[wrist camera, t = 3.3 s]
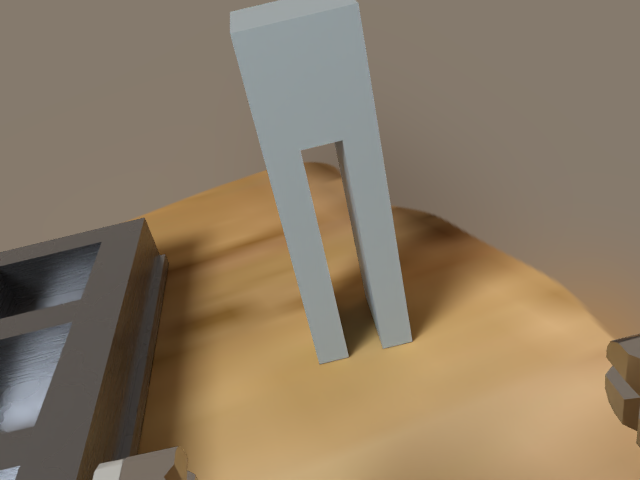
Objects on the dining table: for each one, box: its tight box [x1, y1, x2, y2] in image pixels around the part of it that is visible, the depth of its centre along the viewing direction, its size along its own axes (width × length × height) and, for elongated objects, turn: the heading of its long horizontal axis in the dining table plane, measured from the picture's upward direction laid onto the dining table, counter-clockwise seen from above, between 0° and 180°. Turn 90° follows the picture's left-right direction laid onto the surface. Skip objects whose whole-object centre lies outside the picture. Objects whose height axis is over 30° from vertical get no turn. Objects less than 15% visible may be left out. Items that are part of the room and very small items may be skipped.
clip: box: [230, 0, 412, 364], centre depth 22 cm, size 4×4×13 cm
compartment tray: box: [0, 218, 169, 480], centre depth 23 cm, size 22×10×3 cm, turn 8°
